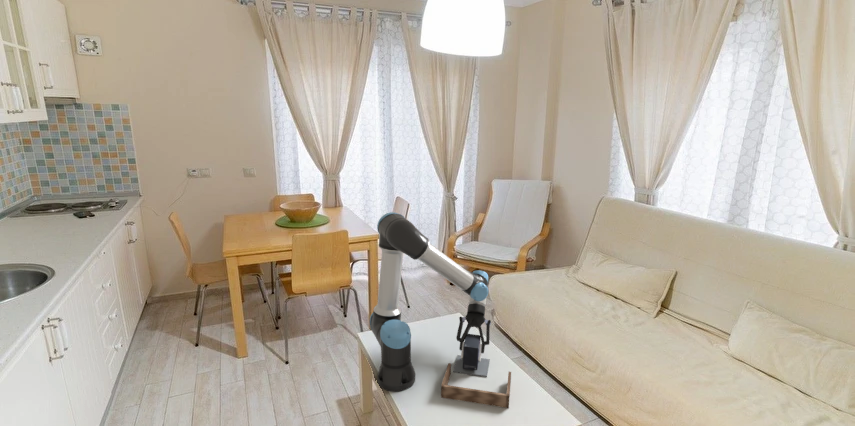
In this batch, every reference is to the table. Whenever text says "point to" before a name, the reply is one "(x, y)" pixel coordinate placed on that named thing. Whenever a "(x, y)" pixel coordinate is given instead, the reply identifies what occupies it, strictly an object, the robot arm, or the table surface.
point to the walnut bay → (474, 393)
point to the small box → (471, 352)
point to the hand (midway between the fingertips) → (470, 359)
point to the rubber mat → (480, 371)
